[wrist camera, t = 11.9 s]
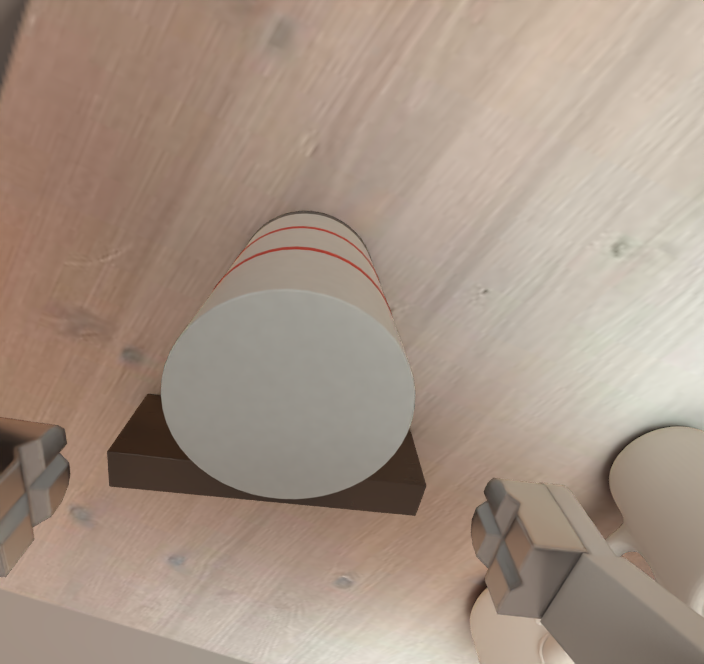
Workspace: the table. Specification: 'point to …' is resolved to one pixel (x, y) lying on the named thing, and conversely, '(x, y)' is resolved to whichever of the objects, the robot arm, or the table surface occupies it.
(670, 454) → the cup
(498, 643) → the mug
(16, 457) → the robot arm
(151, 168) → the table surface
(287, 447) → the white striped cylinder
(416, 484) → the rail
